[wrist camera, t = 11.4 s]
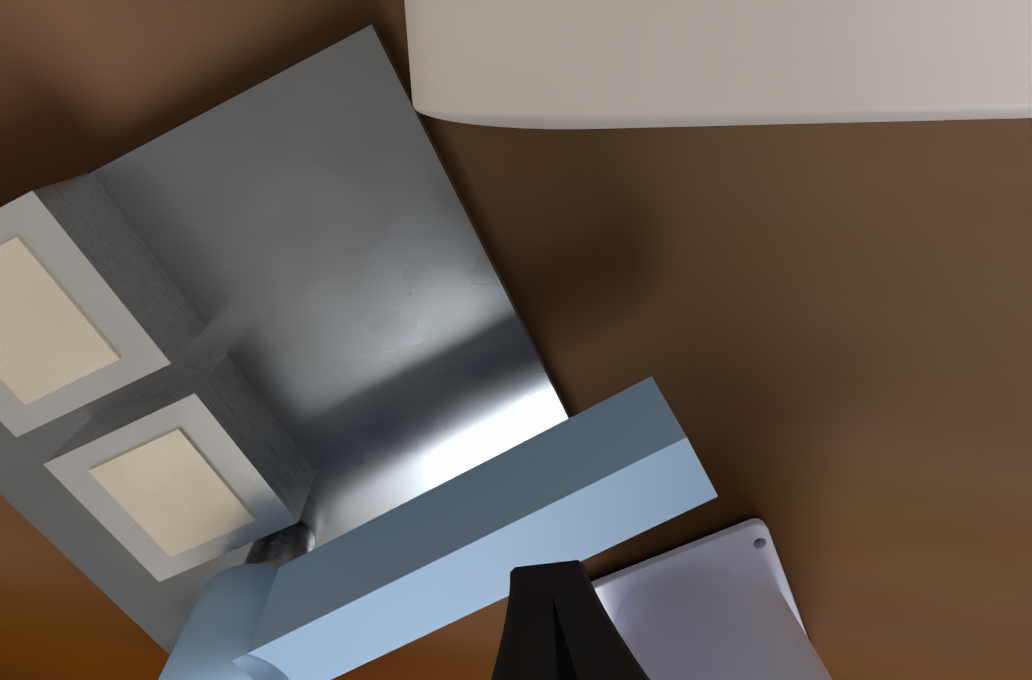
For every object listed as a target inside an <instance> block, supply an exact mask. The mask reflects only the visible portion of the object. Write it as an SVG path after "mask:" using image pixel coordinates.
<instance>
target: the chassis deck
mask: <svg viewBox="0 0 1032 680" xmlns="http://www.w3.org/2000/svg"><path fill="white" fill-rule="evenodd" d="M92 173H93V175H94V176H95V177H96V179H97V180H98V181H99V183H100V184H101V185H102V187H103V188H104V189H105V191H106V192H107V193H108V195H109V196H110V197H111V199H112V200H113V201H114V203H115V204H116V205H117V207H118V208H119V209H120V211H121V212H122V213H123V215H124V216H125V217H126V219H127V220H128V221H129V223H130V224H131V225H132V227H133V228H134V229H135V231H136V232H137V233H138V235H139V236H140V237H141V239H142V240H143V241H144V243H145V244H146V245H147V247H148V248H149V249H150V251H151V252H152V253H153V255H154V256H155V257H156V259H157V260H158V261H159V263H160V264H161V265H162V267H163V268H164V269H165V271H166V272H167V273H168V275H169V276H170V277H171V279H172V280H173V281H174V283H175V284H176V285H177V287H178V288H179V289H180V291H181V292H182V293H183V295H184V296H185V297H186V299H187V300H188V301H189V303H190V304H191V305H192V307H193V308H194V309H195V311H196V312H197V313H198V315H199V316H200V317H201V319H202V320H203V321H204V323H205V324H206V325H207V327H206V328H205V329H204V330H203V331H202V332H201V333H200V334H199V335H198V336H197V337H196V338H195V339H194V340H193V341H192V342H191V343H190V345H189V346H188V347H187V348H186V349H185V350H184V351H183V352H182V353H181V354H180V355H179V356H178V357H177V358H176V359H175V360H174V361H173V362H172V363H171V364H169V365H167V366H165V367H163V368H161V369H159V370H157V371H155V372H152V373H150V374H148V375H146V376H144V377H142V378H140V379H138V380H136V381H134V382H132V383H129V384H127V385H125V386H123V387H121V388H119V389H117V390H115V391H113V392H111V393H108V394H106V395H104V396H102V397H100V398H98V399H96V400H94V401H92V402H90V403H88V404H85V405H83V406H81V407H79V408H77V409H75V410H73V411H71V412H69V413H67V414H64V415H62V416H60V417H58V418H56V419H54V420H52V421H50V422H48V423H46V424H43V425H41V426H39V427H37V428H35V429H33V430H31V431H29V432H27V433H25V434H23V435H20V436H18V437H15V436H14V435H13V434H12V433H11V431H10V430H9V429H8V428H7V427H6V426H5V425H4V424H3V423H2V422H1V421H0V494H1V495H2V496H3V497H4V498H5V499H6V500H7V501H8V502H9V503H10V504H11V505H12V506H13V507H14V508H16V509H17V510H18V511H19V512H20V513H21V514H22V515H23V516H24V517H25V518H26V519H27V520H28V521H29V522H30V523H31V524H32V525H33V526H34V527H36V528H37V529H38V530H39V531H40V532H41V533H42V534H43V535H44V536H45V537H46V538H47V539H48V540H49V541H50V542H51V543H52V544H53V545H54V546H56V547H57V548H58V549H59V550H60V551H61V552H62V553H63V554H64V555H65V556H66V557H67V558H68V559H69V560H70V561H71V562H72V563H73V564H74V565H76V566H77V567H78V568H79V569H80V570H81V571H82V572H83V573H84V574H85V575H86V576H87V577H88V578H89V579H90V580H91V581H92V582H93V583H94V584H96V585H97V586H98V587H99V588H100V589H101V590H102V591H103V592H104V593H105V594H106V595H107V596H108V597H109V598H110V599H111V600H112V601H113V602H114V603H116V604H117V605H118V606H119V607H120V608H121V609H122V610H123V611H124V612H125V613H126V614H127V615H128V616H129V617H130V618H131V619H132V620H133V621H134V622H136V623H137V624H138V625H139V626H140V627H141V628H142V629H143V630H144V631H145V632H146V633H147V634H148V635H149V636H150V637H151V638H152V639H153V640H154V641H156V642H157V643H158V644H159V645H160V646H161V647H162V648H163V649H164V650H165V651H166V652H167V653H168V654H169V655H171V653H172V651H173V649H174V647H175V645H176V643H177V641H178V639H179V637H180V635H181V633H182V631H183V629H184V627H185V625H186V623H187V621H188V619H189V617H190V615H191V613H192V611H193V608H194V606H195V604H196V602H197V600H198V598H199V596H200V594H201V592H202V590H203V588H204V587H205V585H206V584H207V582H208V581H209V580H210V579H211V578H212V577H214V576H215V575H216V574H218V573H219V572H221V571H223V570H225V569H227V568H230V567H233V566H237V565H242V564H244V562H245V560H246V558H247V555H248V553H249V551H250V548H251V546H252V544H253V542H254V541H253V542H251V543H249V544H246V545H244V546H242V547H239V548H237V549H235V550H232V551H230V552H228V553H225V554H223V555H221V556H218V557H216V558H214V559H212V560H209V561H207V562H205V563H202V564H200V565H198V566H195V567H193V568H191V569H188V570H186V571H184V572H181V573H179V574H177V575H174V576H172V577H170V578H167V579H165V580H163V581H160V582H159V581H158V580H157V579H156V578H155V577H154V576H153V575H152V574H151V573H150V572H149V571H148V570H147V569H146V568H145V567H144V566H143V565H142V564H141V563H140V562H139V561H138V560H137V559H136V558H135V557H134V556H133V555H132V554H131V553H130V552H129V551H128V550H127V549H126V548H125V547H124V546H123V545H122V544H121V543H120V542H119V541H118V540H117V539H116V538H115V537H114V536H113V535H112V534H111V533H110V532H109V531H108V530H107V529H106V528H105V527H104V526H103V525H102V524H101V523H100V522H99V521H98V520H97V519H96V518H95V517H94V516H93V515H92V514H91V513H90V512H89V511H88V510H87V509H86V507H85V506H84V505H83V504H82V503H81V502H80V501H79V500H78V499H77V498H76V497H75V496H74V495H73V494H72V493H71V492H70V491H69V490H68V489H67V488H66V487H65V486H64V485H63V484H62V483H61V482H60V481H59V480H58V479H57V478H56V477H55V476H54V475H53V474H52V473H51V472H50V471H49V470H48V469H47V468H46V467H45V466H44V465H43V464H44V463H45V462H46V461H47V460H48V459H49V458H50V457H51V456H52V455H53V454H54V453H55V452H56V451H57V450H58V449H59V448H60V447H62V446H63V445H64V444H65V443H66V442H67V441H68V440H69V439H70V438H71V437H72V436H73V435H74V434H75V433H76V432H77V431H78V430H79V429H80V428H81V427H82V426H83V425H84V424H85V423H86V422H87V421H89V420H90V419H91V418H92V417H93V416H96V415H98V414H100V413H102V412H104V411H106V410H108V409H110V408H112V407H115V406H117V405H119V404H121V403H123V402H125V401H127V400H129V399H131V398H134V397H136V396H138V395H140V394H142V393H144V392H146V391H148V390H150V389H153V388H155V387H157V386H159V385H161V384H163V383H165V382H167V381H169V380H172V379H174V378H176V377H178V376H180V375H182V374H184V373H186V372H188V371H191V370H193V369H195V368H197V367H199V366H201V365H203V364H205V363H207V362H210V361H212V360H214V359H216V358H218V357H220V356H222V355H224V354H226V353H228V355H229V356H230V357H231V359H232V360H233V361H234V363H235V364H236V365H237V367H238V368H239V369H240V371H241V372H242V373H243V375H244V376H245V378H246V379H247V380H248V382H249V383H250V384H251V386H252V387H253V388H254V390H255V391H256V392H257V394H258V395H259V396H260V398H261V399H262V400H263V402H264V403H265V404H266V406H267V407H268V408H269V410H270V411H271V412H272V414H273V415H274V416H275V418H276V419H277V420H278V422H279V423H280V424H281V426H282V427H283V428H284V430H285V431H286V432H287V434H288V435H289V436H290V438H291V439H292V440H293V442H294V443H295V444H296V446H297V447H298V448H299V450H300V451H301V452H302V454H303V455H304V456H305V458H306V459H307V460H308V462H309V463H310V464H311V466H312V467H313V468H314V470H315V471H316V474H315V477H314V480H313V483H312V485H311V488H310V491H309V494H308V496H307V499H306V502H305V505H304V507H303V510H302V513H301V516H300V519H299V521H300V522H302V523H304V524H305V525H307V526H308V527H309V528H310V529H311V531H312V533H313V535H314V538H315V544H314V548H313V550H314V549H315V548H317V547H319V546H321V545H323V544H325V543H327V542H329V541H331V540H333V539H335V538H337V537H339V536H341V535H343V534H345V533H347V532H349V531H351V530H353V529H354V528H356V527H358V526H360V525H362V524H364V523H366V522H368V521H370V520H372V519H374V518H376V517H378V516H380V515H382V514H384V513H386V512H388V511H390V510H392V509H393V508H395V507H397V506H399V505H401V504H403V503H405V502H407V501H409V500H411V499H413V498H415V497H417V496H419V495H421V494H423V493H425V492H427V491H429V490H431V489H432V488H434V487H436V486H438V485H440V484H442V483H444V482H446V481H448V480H450V479H452V478H454V477H456V476H458V475H460V474H462V473H464V472H466V471H468V470H470V469H471V468H473V467H475V466H477V465H479V464H481V463H483V462H485V461H487V460H489V459H491V458H493V457H495V456H497V455H499V454H501V453H503V452H505V451H507V450H509V449H510V448H512V447H514V446H516V445H518V444H520V443H522V442H524V441H526V440H528V439H530V438H532V437H534V436H536V435H538V434H540V433H542V432H544V431H546V430H548V429H549V428H551V427H553V426H555V425H557V424H559V423H561V422H563V421H565V420H567V419H569V418H571V416H570V414H569V412H568V410H567V408H566V406H565V404H564V402H563V400H562V398H561V396H560V394H559V392H558V390H557V388H556V386H555V384H554V382H553V380H552V378H551V376H550V374H549V372H548V370H547V368H546V366H545V364H544V362H543V360H542V358H541V356H540V354H539V352H538V350H537V347H536V345H535V343H534V341H533V339H532V337H531V335H530V333H529V331H528V329H527V327H526V325H525V323H524V321H523V319H522V317H521V315H520V313H519V311H518V309H517V307H516V305H515V303H514V301H513V299H512V297H511V295H510V293H509V291H508V289H507V287H506V285H505V283H504V281H503V279H502V277H501V275H500V273H499V271H498V269H497V267H496V265H495V263H494V261H493V259H492V257H491V255H490V253H489V251H488V249H487V247H486V245H485V243H484V241H483V239H482V237H481V235H480V233H479V231H478V229H477V227H476V225H475V223H474V221H473V219H472V217H471V215H470V213H469V211H468V209H467V207H466V205H465V203H464V201H463V199H462V197H461V195H460V193H459V191H458V189H457V187H456V185H455V183H454V181H453V179H452V177H451V175H450V173H449V171H448V169H447V167H446V165H445V163H444V161H443V159H442V157H441V155H440V153H439V151H438V149H437V147H436V145H435V143H434V141H433V139H432V136H431V134H430V132H429V130H428V128H427V126H426V124H425V122H424V120H423V118H422V116H421V114H420V112H418V111H416V110H415V109H414V107H413V103H412V96H411V94H410V92H409V90H408V88H407V86H406V84H405V82H404V80H403V78H402V76H401V74H400V72H399V70H398V68H397V66H396V64H395V62H394V60H393V58H392V56H391V54H390V52H389V50H388V48H387V46H386V44H385V42H384V40H383V38H382V36H381V34H380V32H379V30H378V28H377V26H374V25H370V26H368V27H366V28H364V29H362V30H360V31H358V32H356V33H355V34H353V35H351V36H349V37H347V38H345V39H343V40H341V41H339V42H337V43H336V44H334V45H332V46H330V47H328V48H326V49H324V50H322V51H320V52H319V53H317V54H315V55H313V56H311V57H309V58H307V59H305V60H303V61H301V62H300V63H298V64H296V65H294V66H292V67H290V68H288V69H286V70H284V71H283V72H281V73H279V74H277V75H275V76H273V77H271V78H269V79H267V80H265V81H264V82H262V83H260V84H258V85H256V86H254V87H252V88H250V89H248V90H247V91H245V92H243V93H241V94H239V95H237V96H235V97H233V98H231V99H229V100H228V101H226V102H224V103H222V104H220V105H218V106H216V107H214V108H212V109H211V110H209V111H207V112H205V113H203V114H201V115H199V116H197V117H195V118H193V119H192V120H190V121H188V122H186V123H184V124H182V125H180V126H178V127H176V128H175V129H173V130H171V131H169V132H167V133H165V134H163V135H161V136H159V137H157V138H156V139H154V140H152V141H150V142H148V143H146V144H144V145H142V146H140V147H139V148H137V149H135V150H133V151H131V152H129V153H127V154H125V155H123V156H122V157H120V158H118V159H116V160H114V161H112V162H110V163H108V164H106V165H104V166H103V167H101V168H99V169H97V170H95V171H93V172H92Z"/></svg>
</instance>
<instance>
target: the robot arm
mask: <svg viewBox="0 0 1032 680" xmlns="http://www.w3.org/2000/svg"><path fill="white" fill-rule="evenodd" d="M759 538H761V539H759ZM757 539H759V540H758V541H755V540H757ZM491 680H832V678H831V676H830V675H829V673H828V671H827V670H826V668H825V666H824V664H823V663H822V661H821V659H820V658H819V656H818V654H817V652H816V651H815V649H814V647H813V646H812V644H811V642H810V641H809V639H808V637H807V634H806V631H805V629H804V626H803V623H802V620H801V618H800V615H799V612H798V609H797V607H796V604H795V601H794V598H793V596H792V593H791V590H790V587H789V585H788V582H787V579H786V576H785V574H784V571H783V568H782V566H781V563H780V560H779V557H778V555H777V552H776V549H775V546H774V544H773V541H772V538H771V535H770V533H769V530H768V528H767V526H766V525H765V523H764V522H763V521H762V520H760V519H755V518H754V519H750V520H747V521H744V522H742V523H739V524H737V525H734V526H732V527H729V528H727V529H724V530H722V531H719V532H716V533H714V534H711V535H709V536H706V537H704V538H701V539H699V540H696V541H694V542H691V543H688V544H686V545H683V546H681V547H678V548H676V549H673V550H671V551H668V552H666V553H663V554H661V555H658V556H655V557H653V558H650V559H648V560H645V561H643V562H640V563H638V564H635V565H633V566H630V567H628V568H625V569H622V570H620V571H617V572H615V573H612V574H610V575H607V576H605V577H602V578H600V579H597V580H594V581H592V582H591V581H590V579H589V576H588V574H587V572H586V569H585V567H584V564H583V563H581V562H580V561H579V560H572V561H563V562H555V563H546V564H537V565H529V566H520V567H515V568H514V569H513V570H512V571H511V572H510V590H509V600H508V607H507V614H506V619H505V625H504V630H503V634H502V639H501V643H500V647H499V651H498V656H497V660H496V664H495V668H494V672H493V675H492V679H491Z"/></svg>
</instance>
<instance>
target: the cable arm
mask: <svg viewBox="0 0 1032 680" xmlns="http://www.w3.org/2000/svg"><path fill="white" fill-rule="evenodd" d="M716 497H718V495H717V493H716V491H715V490H714V488H713V486H712V484H711V482H710V480H709V478H708V476H707V474H706V473H705V471H704V469H703V467H702V465H701V463H700V461H699V459H698V457H697V456H696V454H695V452H694V450H693V448H692V446H691V444H690V442H689V440H688V439H687V437H686V435H685V433H684V432H683V430H682V428H681V426H680V425H679V423H678V421H677V419H676V418H675V416H674V414H673V412H672V411H671V409H670V407H669V406H668V404H667V402H666V400H665V399H664V397H663V395H662V393H661V392H660V390H659V388H658V386H657V385H656V383H655V381H654V380H653V378H652V376H651V377H649V378H647V379H645V380H643V381H641V382H639V383H637V384H635V385H633V386H631V387H629V388H627V389H626V390H624V391H622V392H620V393H618V394H616V395H614V396H612V397H610V398H608V399H606V400H604V401H602V402H600V403H598V404H596V405H594V406H592V407H590V408H588V409H587V410H585V411H583V412H581V413H579V414H577V415H575V416H573V417H571V418H569V419H567V420H565V421H563V422H561V423H559V424H557V425H555V426H553V427H551V428H549V429H548V430H546V431H544V432H542V433H540V434H538V435H536V436H534V437H532V438H530V439H528V440H526V441H524V442H522V443H520V444H518V445H516V446H514V447H512V448H510V449H509V450H507V451H505V452H503V453H501V454H499V455H497V456H495V457H493V458H491V459H489V460H487V461H485V462H483V463H481V464H479V465H477V466H475V467H473V468H471V469H470V470H468V471H466V472H464V473H462V474H460V475H458V476H456V477H454V478H452V479H450V480H448V481H446V482H444V483H442V484H440V485H438V486H436V487H434V488H432V489H431V490H429V491H427V492H425V493H423V494H421V495H419V496H417V497H415V498H413V499H411V500H409V501H407V502H405V503H403V504H401V505H399V506H397V507H395V508H393V509H392V510H390V511H388V512H386V513H384V514H382V515H380V516H378V517H376V518H374V519H372V520H370V521H368V522H366V523H364V524H362V525H360V526H358V527H356V528H354V529H353V530H351V531H349V532H347V533H345V534H343V535H341V536H339V537H337V538H335V539H333V540H331V541H329V542H327V543H325V544H323V545H321V546H319V547H317V548H315V549H314V550H312V551H310V552H308V553H306V554H304V555H302V556H300V557H298V558H296V559H294V560H292V561H290V562H288V563H286V564H284V565H282V566H280V567H277V566H273V565H268V564H242V565H237V566H233V567H230V568H227V569H225V570H223V571H221V572H219V573H218V574H216V575H215V576H214V577H212V578H211V579H210V580H209V581H208V582H207V584H206V585H205V587H204V588H203V590H202V592H201V594H200V596H199V598H198V600H197V602H196V604H195V606H194V608H193V611H192V613H191V615H190V617H189V619H188V621H187V623H186V625H185V627H184V629H183V631H182V633H181V635H180V637H179V639H178V641H177V643H176V645H175V647H174V649H173V651H172V653H171V655H170V657H169V659H168V661H167V663H166V665H165V667H164V669H163V671H162V673H161V675H160V677H159V680H331V679H333V678H335V677H337V676H340V675H342V674H344V673H346V672H348V671H350V670H352V669H354V668H356V667H359V666H361V665H363V664H365V663H367V662H369V661H371V660H373V659H376V658H378V657H380V656H382V655H384V654H386V653H388V652H390V651H392V650H395V649H397V648H399V647H401V646H403V645H405V644H407V643H409V642H411V641H414V640H416V639H418V638H420V637H422V636H424V635H426V634H428V633H430V632H433V631H435V630H437V629H439V628H441V627H443V626H445V625H447V624H449V623H452V622H454V621H456V620H458V619H460V618H462V617H464V616H466V615H468V614H471V613H473V612H475V611H477V610H479V609H481V608H483V607H485V606H487V605H490V604H492V603H494V602H496V601H498V600H500V599H502V598H504V597H507V596H509V590H510V572H511V571H512V570H513V569H514V568H515V567H520V566H529V565H537V564H546V563H555V562H563V561H572V560H579V561H583V560H585V559H587V558H589V557H591V556H593V555H595V554H597V553H599V552H602V551H604V550H606V549H608V548H610V547H612V546H614V545H616V544H618V543H621V542H623V541H625V540H627V539H629V538H631V537H633V536H635V535H638V534H640V533H642V532H644V531H646V530H648V529H650V528H652V527H654V526H657V525H659V524H661V523H663V522H665V521H667V520H669V519H671V518H673V517H676V516H678V515H680V514H682V513H684V512H686V511H688V510H690V509H692V508H695V507H697V506H699V505H701V504H703V503H705V502H707V501H709V500H711V499H714V498H716Z"/></svg>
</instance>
